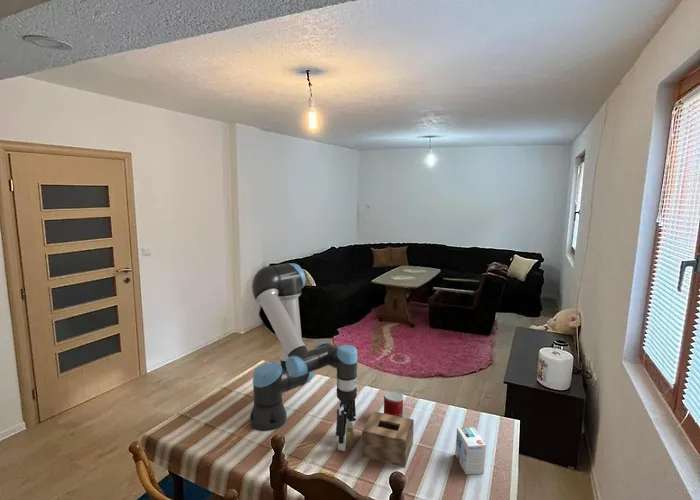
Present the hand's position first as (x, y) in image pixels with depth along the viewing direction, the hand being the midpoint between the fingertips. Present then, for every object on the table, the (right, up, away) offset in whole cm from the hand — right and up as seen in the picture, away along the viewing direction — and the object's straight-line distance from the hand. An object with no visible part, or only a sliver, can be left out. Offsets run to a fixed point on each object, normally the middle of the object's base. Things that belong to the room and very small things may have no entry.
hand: (345, 443), depth 150 cm
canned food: (+20, +2, +16) cm, 26 cm away
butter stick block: (0, 0, 0) cm, 0 cm away
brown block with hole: (+16, -1, -3) cm, 16 cm away
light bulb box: (+44, -2, -10) cm, 45 cm away
